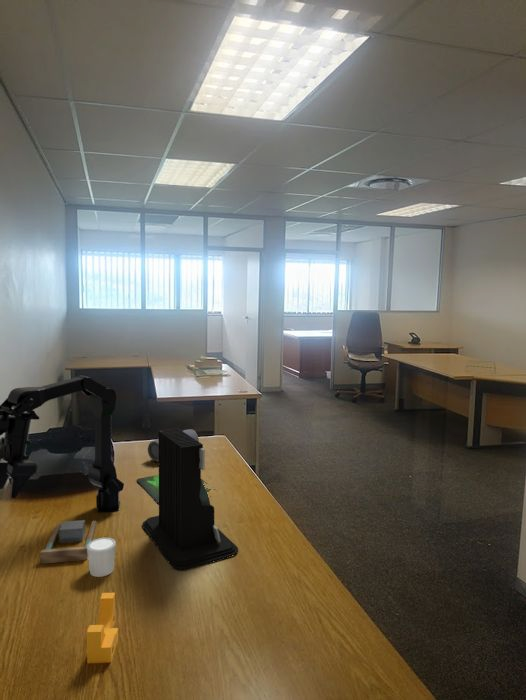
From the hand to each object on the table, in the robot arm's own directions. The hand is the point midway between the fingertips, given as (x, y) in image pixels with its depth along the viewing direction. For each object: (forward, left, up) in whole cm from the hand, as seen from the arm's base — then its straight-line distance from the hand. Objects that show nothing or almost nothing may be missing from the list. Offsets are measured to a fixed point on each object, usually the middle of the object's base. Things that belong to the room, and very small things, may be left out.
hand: (6, 493), depth 130 cm
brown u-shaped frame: (-16, 0, -15) cm, 22 cm away
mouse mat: (-46, -35, -16) cm, 60 cm away
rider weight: (-16, -2, -15) cm, 22 cm away
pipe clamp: (-30, +42, -16) cm, 54 cm away
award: (-48, +3, -16) cm, 51 cm away
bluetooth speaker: (-46, -69, -15) cm, 84 cm away
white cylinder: (-26, +16, -15) cm, 34 cm away
